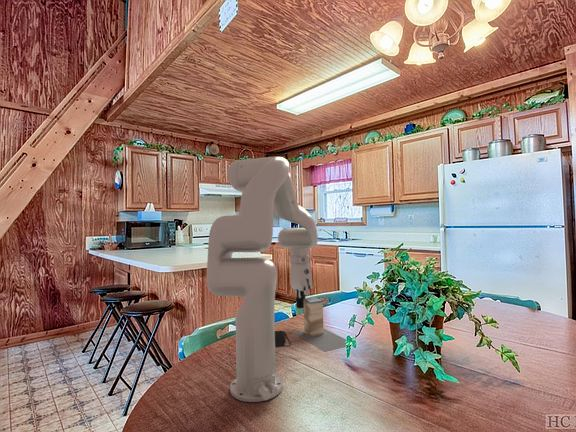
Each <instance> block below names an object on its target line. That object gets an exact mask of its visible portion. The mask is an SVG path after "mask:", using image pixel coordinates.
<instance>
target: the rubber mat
mask: <svg viewBox="0 0 576 432" xmlns="http://www.w3.org/2000/svg"><path fill="white" fill-rule="evenodd" d="M323 332H324V334H321V335H316V336H310V335H308V334H306V333H305V332H304V330H302V331H297V332H294V334H295V335H296V336H298V337H300V338H301V339H302V340H304V341H306V342H307V343H310V345H311V344H312V345H313V346H314V347H316V348H318V349H320V350H321V351H322V352H325V353H326V352H331V351H335V350H339V349H342V348H346V347H345V341H346V340H347V339H346V338H344V337H342V336H340V335H338V334H336V333H334V332H332V331H330V330H328V329H326V328H324V327H323Z"/></svg>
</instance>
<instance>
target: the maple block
mask: <svg viewBox="0 0 576 432" xmlns="http://www.w3.org/2000/svg"><path fill="white" fill-rule="evenodd" d="M323 301H324V299H320V298H318V297H309V298H305V299H304V308H303V328H304V330H303V331H304V332H305V333H306V334H308V335H310V336H316V335H321V334H324V332H323V328H324V309H323V308H324V305H323Z"/></svg>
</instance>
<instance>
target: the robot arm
mask: <svg viewBox="0 0 576 432" xmlns="http://www.w3.org/2000/svg"><path fill="white" fill-rule="evenodd" d="M227 179H228V182H229V185H230V186H231V187H232V188H233V189H234V190H235V191H238V192H240V193H241V196H240V204H239V205H240V206H239V213H238V214H236V215H232V214H231V215H221V216H219V217H217V218H215V220H214V221H213V223H212V225H211V227H210V229H209V235H208V245H207V246H208V247H207V261H206V263H207V264H206V285H207V288H208V291H210V293H211V294H213V295H215V296H217V297H218V296H219V297H236V298H237V297H239V298H243V299H244V301H243V302H242V304H241V305H240V307H239V308H238V310H237V311H236V313H235V318H234V319H235V320H234V322H235V324H234V325H235V362H236V363H235V371H236V376H235V379H233V380H232V382H231V383H230V385H229V389H230V390H229V392H230V394H231V396H232V397H233V398H235V399H236V400H237V401H241V402H245V403H247V402H248V403H259V402H260V403H261V402H264V401H268V400H271V399H273V398H275V397H277V395H279V394H280V393H281V391H282V390H283V381H282V379H281V377H279V376H278V375H277V373H276V370H277V368H276V364H277V363H276V347H275V331H276V328H275V326H276V324H275V322H276V321H275V302H276V301H275V300H276V292H277V291H276V290H277V284H278V268H277V266H276V265H275V263H274V262H273V261H272V260H270V259H266V258H263V257H232V256H233V253H261V252H265V251H267V250H269V249H270V248H271V246H272V243H273V235H274V234H273V231H274V229H273V228H274V215H275V216H276V217H277V218H280V219H283V220H284V221H288V222H291V223H293V224H297V225H299V226H300V227H285V228H283V229H281V230H280V231H279V232H278V234H277V241H278V244H279V245H280V247H281V248H283V249H289V260H290V261H289V262H290V269H289V270H290V272H289V273H290V274H289V278H290V279H289V281H290V282H289V283H290V286H291V288H292V290H293V291H294V295H295V300H296V301H295V303H296V308H297V309H298V310H299V309H304V299H306V297H307V295H309V294H310V291H311V290H313V287H314V286H313V275H312V268H311V264H310V263H311V262H310V249H313V248H315V247H316V245H317V244H318V241H319V239H318V238H319V237H318V236H319V235H318V230H317V226H316V221H315V220H314V218H313V216H312V215H311V213H310V212H309V211H307V210H306V209H305V208H304V207H302V206H301V205H299V204H298V200H297V196H296V192H295V187H294V184H293V179H292V176H291V173H290V164H289V161H288V159H286V158H284V157H282V156H268V157H265V156H264V157H257V158H249V159H248V158H247V159H238V160H234V161H233V162H231V163H230V165H229V166H228V169H227Z"/></svg>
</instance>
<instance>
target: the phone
mask: <svg viewBox="0 0 576 432" xmlns="http://www.w3.org/2000/svg"><path fill="white" fill-rule="evenodd" d="M287 340H288V342H289V344H288V345H286V341H287ZM291 346H292V344H291V341H290V339H289V337H288V336H287V333H286V332H285V330H275V348H281V347H283V348H284V347H291Z"/></svg>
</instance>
